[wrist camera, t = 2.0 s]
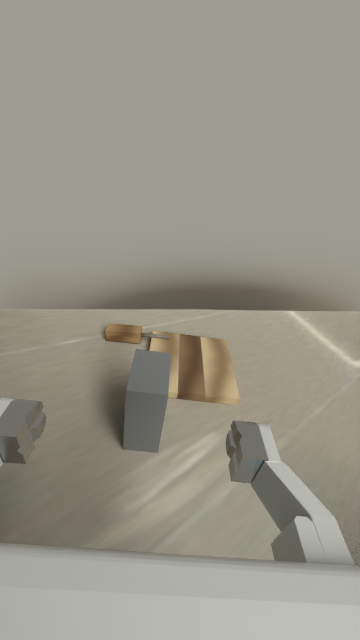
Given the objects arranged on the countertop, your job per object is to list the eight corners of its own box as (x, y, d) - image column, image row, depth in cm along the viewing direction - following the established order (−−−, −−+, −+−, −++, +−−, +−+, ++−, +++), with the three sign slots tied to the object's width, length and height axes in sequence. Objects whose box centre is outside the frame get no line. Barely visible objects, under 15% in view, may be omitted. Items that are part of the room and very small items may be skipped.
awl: (106, 340, 44) (105, 330, 43) (109, 333, 46) (108, 323, 45) (168, 345, 44) (169, 335, 43) (168, 338, 46) (169, 328, 45)
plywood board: (141, 394, 35) (142, 388, 35) (152, 335, 47) (152, 330, 46) (237, 405, 36) (240, 399, 36) (224, 344, 48) (226, 340, 47)
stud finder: (122, 449, 29) (125, 390, 23) (131, 405, 34) (135, 348, 28) (158, 452, 29) (168, 395, 23) (162, 409, 34) (171, 353, 29)
